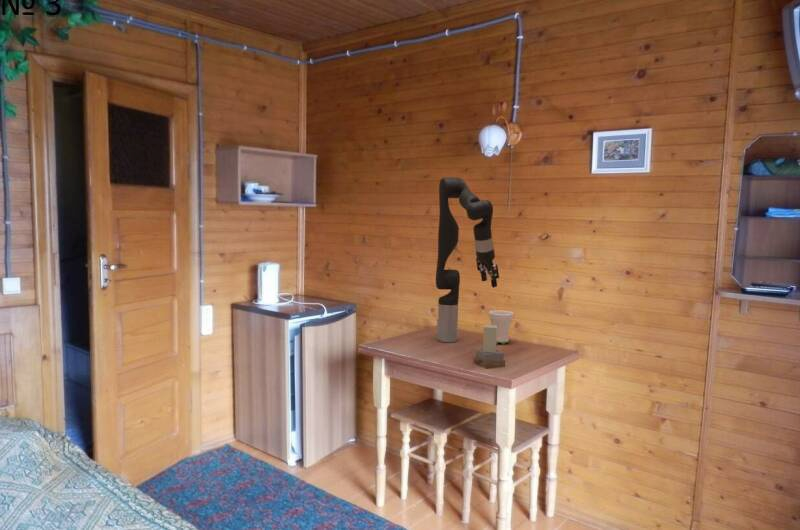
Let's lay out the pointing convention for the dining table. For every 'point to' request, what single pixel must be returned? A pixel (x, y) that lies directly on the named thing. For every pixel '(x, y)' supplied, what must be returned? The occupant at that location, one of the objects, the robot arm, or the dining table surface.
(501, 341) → the cup
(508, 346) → the dining table surface
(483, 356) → the charcoal slab
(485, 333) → the sage pillar
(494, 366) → the walnut slab
